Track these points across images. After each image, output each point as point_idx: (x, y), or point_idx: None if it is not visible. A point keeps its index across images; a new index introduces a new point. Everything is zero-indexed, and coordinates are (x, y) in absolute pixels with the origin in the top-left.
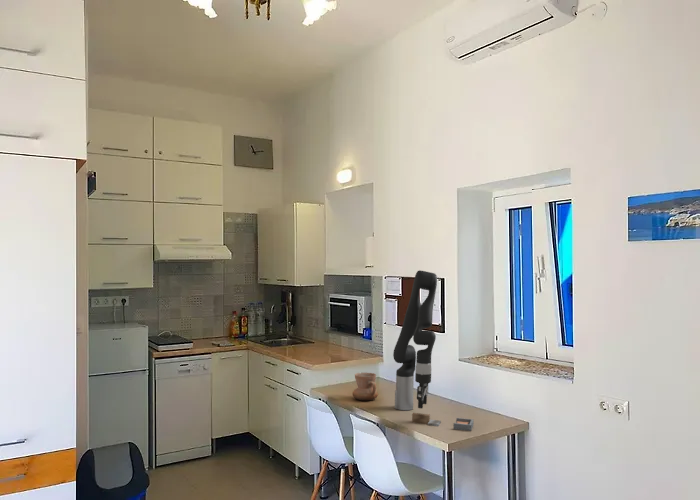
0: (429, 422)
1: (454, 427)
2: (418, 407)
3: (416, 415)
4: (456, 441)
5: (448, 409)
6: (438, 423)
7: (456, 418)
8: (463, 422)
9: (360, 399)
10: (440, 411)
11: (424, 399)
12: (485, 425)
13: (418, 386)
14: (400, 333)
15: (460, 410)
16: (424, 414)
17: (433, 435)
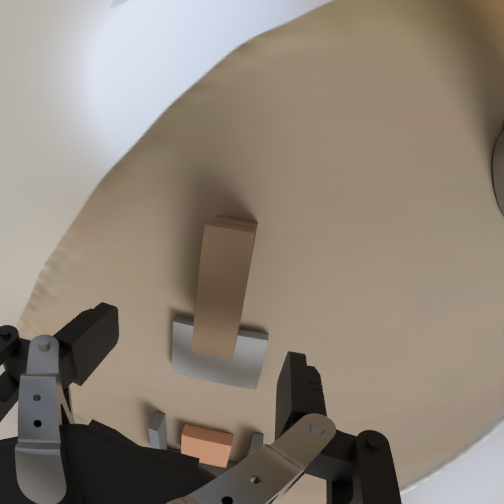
0: (192, 331)
1: (154, 418)
2: (102, 306)
3: (202, 259)
4: None
5: (484, 383)
6: (188, 373)
7: (251, 451)
8: (218, 457)
9: None
10: (469, 362)
11: (282, 403)
12: None
13: (22, 489)
14: None
15: (461, 420)
16: (217, 324)
17: (41, 319)
